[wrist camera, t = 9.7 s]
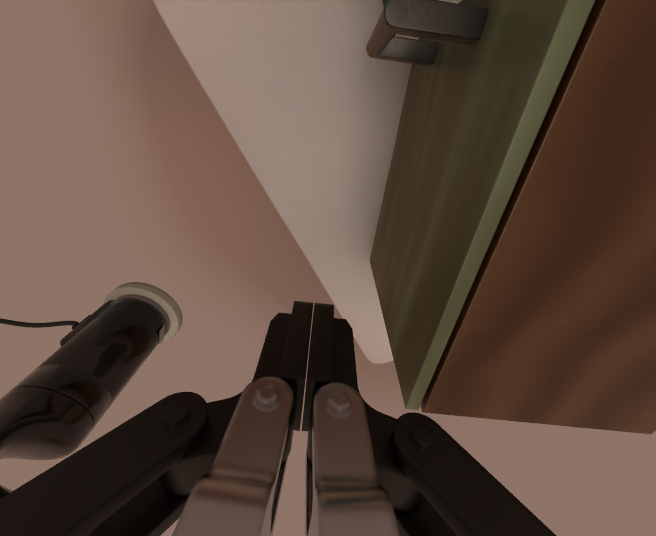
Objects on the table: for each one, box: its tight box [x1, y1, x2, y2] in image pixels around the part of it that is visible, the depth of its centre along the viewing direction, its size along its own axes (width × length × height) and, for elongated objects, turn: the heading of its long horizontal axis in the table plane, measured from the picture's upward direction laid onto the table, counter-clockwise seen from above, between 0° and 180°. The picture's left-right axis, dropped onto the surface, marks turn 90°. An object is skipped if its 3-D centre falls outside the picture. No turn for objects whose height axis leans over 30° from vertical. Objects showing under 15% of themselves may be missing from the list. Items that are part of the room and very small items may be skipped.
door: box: [366, 0, 595, 410], centre depth 25 cm, size 7×26×24 cm, turn 173°
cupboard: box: [420, 0, 656, 434], centre depth 26 cm, size 18×26×24 cm
